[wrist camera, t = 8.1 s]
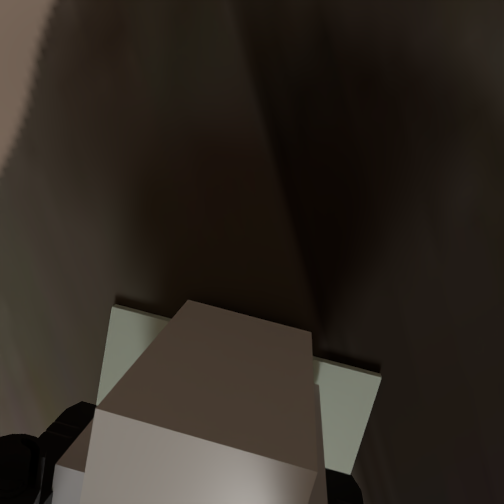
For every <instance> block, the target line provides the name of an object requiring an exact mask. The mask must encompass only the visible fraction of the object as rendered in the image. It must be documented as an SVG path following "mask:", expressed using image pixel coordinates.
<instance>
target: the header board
mask: <svg viewBox="0 0 504 504" xmlns="http://www.w3.org/2000/svg"><path fill="white" fill-rule="evenodd" d="M170 320H171V318H167V317H163V316H159V315H155V314H152V313H148V312H144V311H140V310H136V309H133V308H129V307H125V306H121V305H117V304H115V305H113V306H112V310H111V316H110V322H109V328H108V335H107V341H106V347H105V353H104V359H103V365H102V372H101V378H100V384H99V390H98V396H97V403H96V405H97V406H98V405H99V404H100V402H101V401H102V400H103V399H104V398H105V397H106V395H107V394H108V393H109V392H110V391H111V389H112V388H113V387H114V386H115V385H116V384H117V382H118V381H119V380H120V379H121V378H122V377H123V375H124V374H125V373H126V372H127V371H128V370H129V368H130V367H131V366H132V365H133V364H134V362H135V361H136V360H137V359H138V358H139V357H140V355H141V354H142V353H143V352H144V351H145V350H146V348H147V347H148V346H149V345H150V344H151V342H152V341H153V340H154V339H155V338H156V337H157V335H158V334H159V333H160V332H161V331H162V330H163V328H164V327H165V326H166V325H167V324H168V323H169V321H170ZM313 377H314V384H317V385H319V390H320V404H321V418H322V432H323V446H324V460H325V468H328V469H331V470H335V471H338V472H342V473H346V474H349V475H350V474H351V471H352V468H353V464H354V461H355V458H356V455H357V452H358V449H359V446H360V443H361V440H362V437H363V434H364V431H365V427H366V424H367V421H368V418H369V415H370V412H371V409H372V406H373V403H374V400H375V397H376V394H377V391H378V387H379V384H380V381H381V378H382V377H381V374H380V373H376V372H372V371H368V370H365V369H361V368H357V367H353V366H349V365H346V364H342V363H338V362H334V361H330V360H327V359H323V358H319V357H315V356H313Z"/></svg>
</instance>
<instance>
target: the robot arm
mask: <svg viewBox="0 0 504 504" xmlns="http://www.w3.org/2000/svg"><path fill="white" fill-rule="evenodd" d="M314 400H315V422H316V445H317V467H318V473H317V476H316V479H315V482H314V486H313V489H312V492H311V495H310V498H309V502H308V504H363V498H362V492H361V489H360V488H359V486H358V485H357V483H356V481H355V480H354V478H353V477H352V475H349V474H346V473H342V472H338V471H335V470H331V469H328V468H325V460H324V446H323V432H322V418H321V404H320V390H319V385H317V384H314ZM96 407H97V405H94V404H90V403H87V402H83V401H81V402H79V403H77V404H75V405H73V406H71V407H69V408H67V409H66V410H65V411H64V412H63V413H62V414H61V415H60V416H59V417H58V418H57V419H56V420H55V422H53V423H52V424H51V425H50V426H49V427H48V428H47V429H46V432H43V433H42V434H41V436H40V437H39V438H37V437H35V436H31V435H27V434H11V435H7V436H2V437H0V504H79V503H80V497H81V491H82V485H83V479H84V473H85V467H86V461H87V456H88V450H89V444H90V438H91V432H92V426H93V420H94V414H95V408H96Z"/></svg>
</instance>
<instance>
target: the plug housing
mask: <svg viewBox="0 0 504 504" xmlns="http://www.w3.org/2000/svg"><path fill="white" fill-rule="evenodd" d="M317 473H318V467H317V445H316V422H315V400H314V377H313V355H312V332H308V331H305V330H301V329H297V328H293V327H290V326H286V325H282V324H278V323H274V322H271V321H267V320H263V319H259V318H256V317H252V316H248V315H244V314H240V313H237V312H233V311H229V310H225V309H222V308H218V307H214V306H210V305H207V304H203V303H199V302H195V301H191V300H187V301H186V303H185V304H184V305H183V306H182V307H181V308H180V310H179V311H178V312H177V313H176V314H175V315H174V317H173V318H172V319H171V320H170V321H169V323H168V324H167V325H166V326H165V327H164V328H163V330H162V331H161V332H160V333H159V334H158V335H157V337H156V338H155V339H154V340H153V341H152V342H151V344H150V345H149V346H148V347H147V348H146V350H145V351H144V352H143V353H142V354H141V355H140V357H139V358H138V359H137V360H136V361H135V362H134V364H133V365H132V366H131V367H130V368H129V370H128V371H127V372H126V373H125V374H124V375H123V377H122V378H121V379H120V380H119V381H118V382H117V384H116V385H115V386H114V387H113V388H112V389H111V391H110V392H109V393H108V394H107V395H106V397H105V398H104V399H103V400H102V401H101V402H100V404H99V405H98V406H97V407H96V408H95V414H94V420H93V426H92V432H91V438H90V444H89V450H88V456H87V461H86V467H85V473H84V479H83V485H82V491H81V497H80V503H79V504H308V502H309V498H310V495H311V492H312V489H313V486H314V482H315V479H316V476H317Z"/></svg>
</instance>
